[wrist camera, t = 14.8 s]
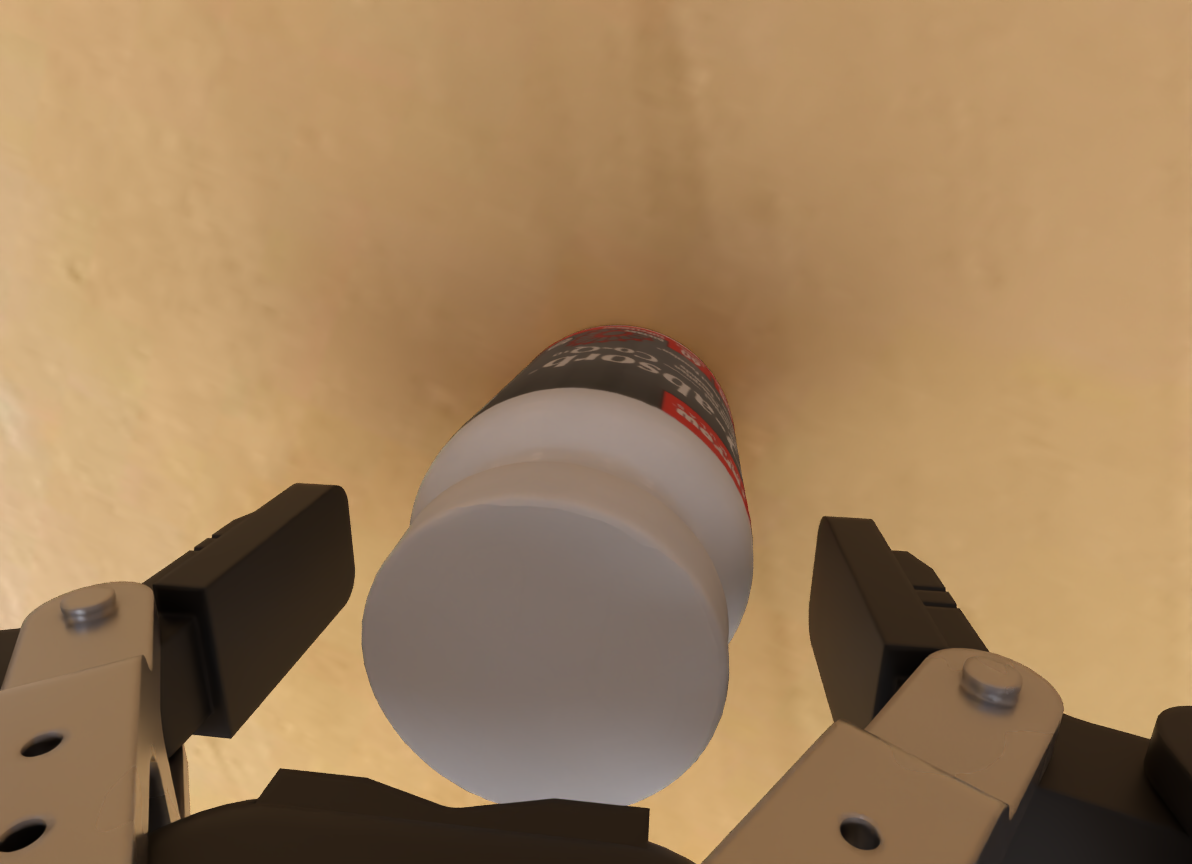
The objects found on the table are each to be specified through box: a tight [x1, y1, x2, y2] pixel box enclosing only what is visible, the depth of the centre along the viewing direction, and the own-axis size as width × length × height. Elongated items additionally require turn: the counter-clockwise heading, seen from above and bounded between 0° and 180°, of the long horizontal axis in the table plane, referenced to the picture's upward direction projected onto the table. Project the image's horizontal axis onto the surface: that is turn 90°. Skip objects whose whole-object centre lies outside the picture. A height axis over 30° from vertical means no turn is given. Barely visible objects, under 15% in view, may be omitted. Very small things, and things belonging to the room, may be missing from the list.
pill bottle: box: [362, 325, 753, 806], centre depth 13 cm, size 6×6×10 cm
